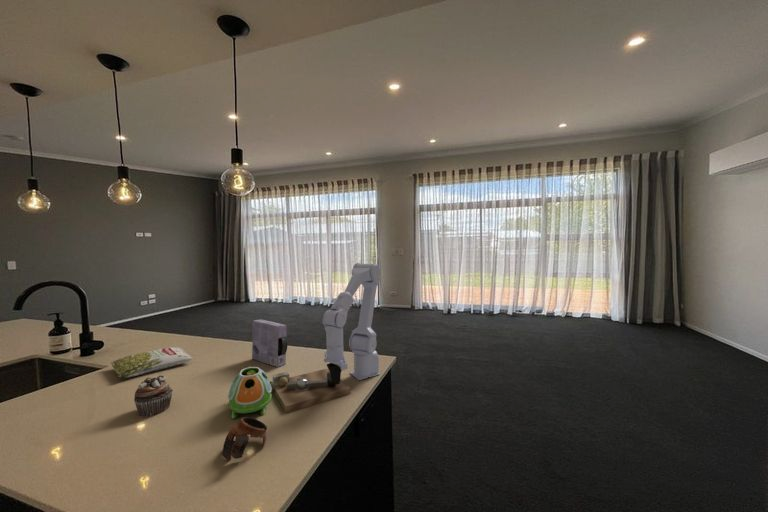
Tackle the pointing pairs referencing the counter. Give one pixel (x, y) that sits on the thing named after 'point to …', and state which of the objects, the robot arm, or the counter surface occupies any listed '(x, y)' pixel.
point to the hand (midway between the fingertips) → (335, 383)
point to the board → (305, 390)
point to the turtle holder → (249, 391)
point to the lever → (309, 383)
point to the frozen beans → (150, 361)
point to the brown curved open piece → (242, 437)
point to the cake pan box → (269, 342)
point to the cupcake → (153, 396)
